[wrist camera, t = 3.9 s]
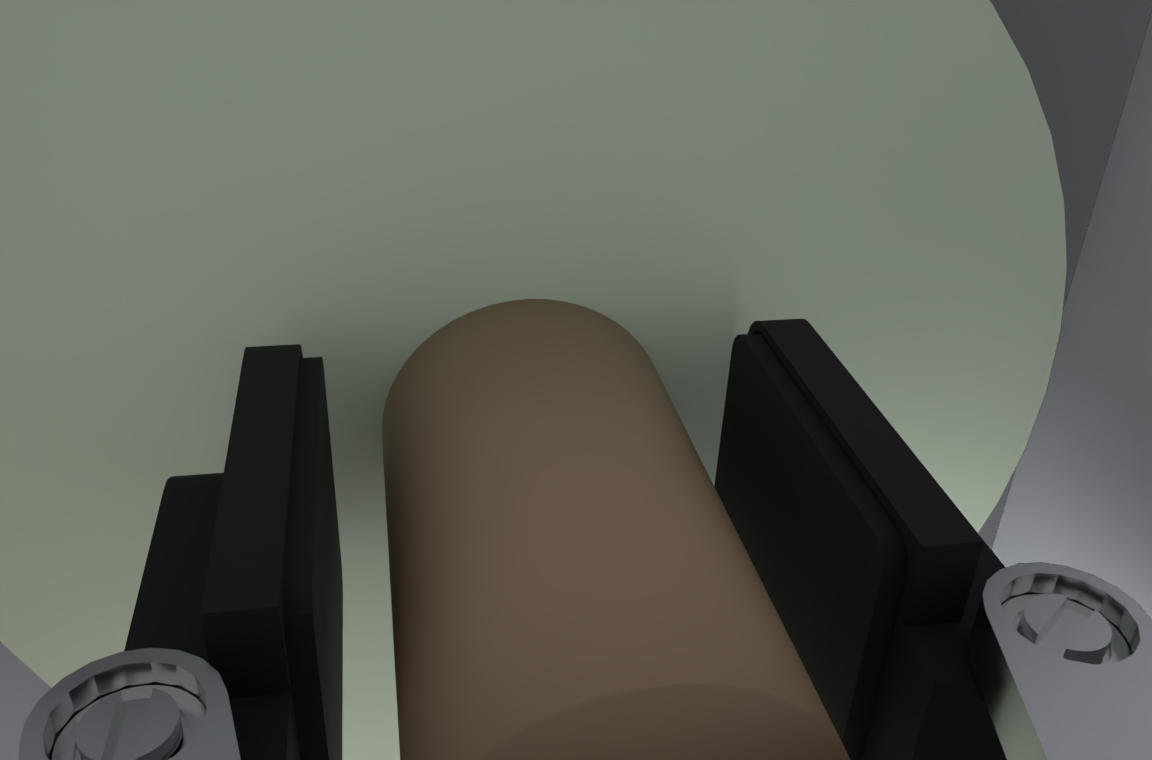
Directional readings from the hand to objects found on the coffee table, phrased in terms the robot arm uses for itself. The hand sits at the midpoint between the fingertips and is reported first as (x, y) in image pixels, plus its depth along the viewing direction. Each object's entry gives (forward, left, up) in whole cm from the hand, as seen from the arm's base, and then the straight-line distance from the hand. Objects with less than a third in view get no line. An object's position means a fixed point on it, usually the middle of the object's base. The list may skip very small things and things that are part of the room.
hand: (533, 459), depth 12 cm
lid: (0, 0, -1) cm, 1 cm away
